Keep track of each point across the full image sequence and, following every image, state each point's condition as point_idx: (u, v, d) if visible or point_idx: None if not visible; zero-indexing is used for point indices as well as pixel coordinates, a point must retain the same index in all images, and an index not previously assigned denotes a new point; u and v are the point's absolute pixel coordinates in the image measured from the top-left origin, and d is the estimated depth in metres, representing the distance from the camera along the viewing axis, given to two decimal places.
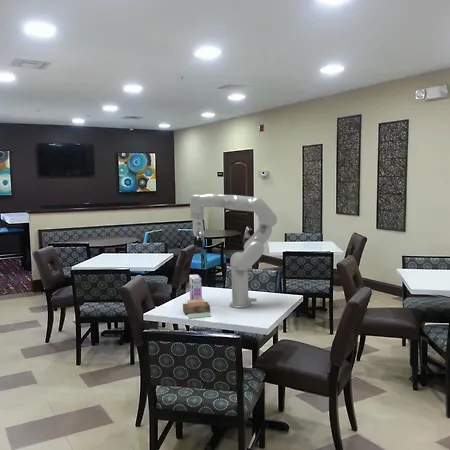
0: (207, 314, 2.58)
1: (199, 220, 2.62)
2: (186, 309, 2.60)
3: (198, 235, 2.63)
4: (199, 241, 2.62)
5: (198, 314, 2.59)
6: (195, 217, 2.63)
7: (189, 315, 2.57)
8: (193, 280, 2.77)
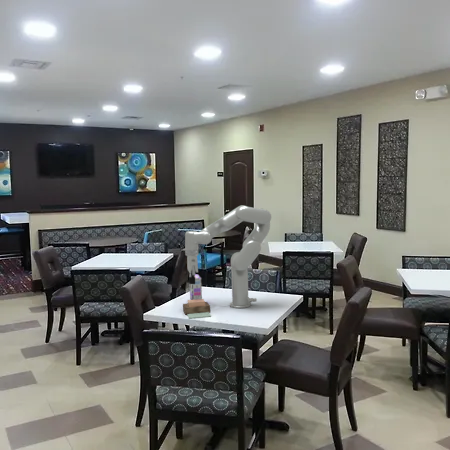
0: (207, 314, 2.58)
1: (193, 257, 2.67)
2: (186, 309, 2.60)
3: (191, 273, 2.70)
4: (192, 278, 2.71)
5: (198, 314, 2.59)
6: (190, 254, 2.67)
7: (189, 315, 2.57)
8: None
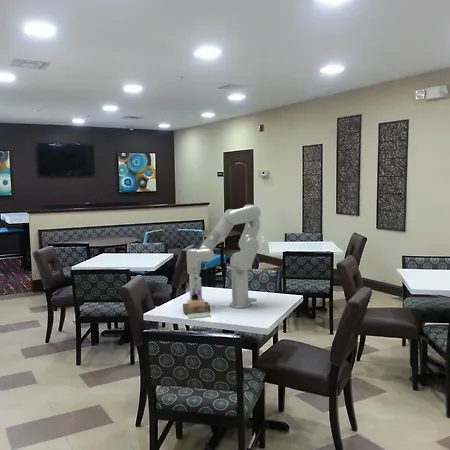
0: (207, 314, 2.58)
1: (195, 275, 2.64)
2: (186, 309, 2.60)
3: None
4: (194, 296, 2.68)
5: (198, 314, 2.59)
6: (191, 272, 2.65)
7: (189, 315, 2.57)
8: None
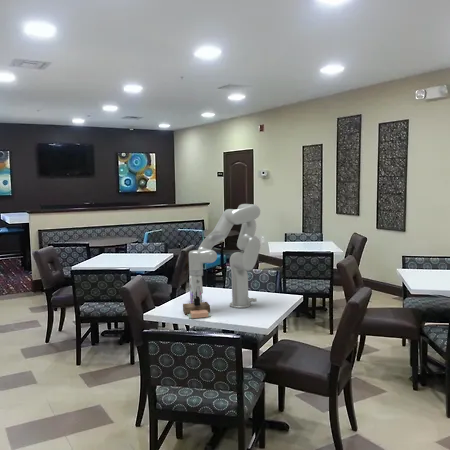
0: None
1: (198, 278, 2.56)
2: (186, 309, 2.60)
3: (196, 294, 2.59)
4: (197, 299, 2.60)
5: None
6: (194, 274, 2.57)
7: (189, 315, 2.57)
8: None
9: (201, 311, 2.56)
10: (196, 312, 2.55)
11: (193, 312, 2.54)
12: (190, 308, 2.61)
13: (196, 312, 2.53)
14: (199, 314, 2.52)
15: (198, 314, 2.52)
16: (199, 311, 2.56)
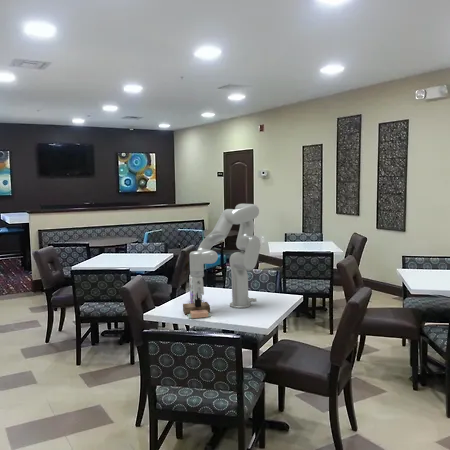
0: None
1: (199, 279, 2.54)
2: (186, 309, 2.60)
3: (197, 295, 2.57)
4: (197, 301, 2.58)
5: None
6: (195, 275, 2.54)
7: (189, 315, 2.57)
8: None
9: (201, 311, 2.56)
10: (196, 312, 2.55)
11: (193, 312, 2.54)
12: (190, 308, 2.61)
13: (196, 312, 2.53)
14: (199, 314, 2.52)
15: (198, 314, 2.52)
16: (199, 311, 2.56)
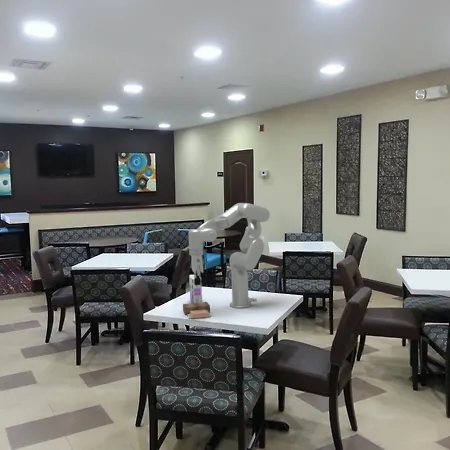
0: None
1: (198, 256, 2.53)
2: (186, 309, 2.60)
3: None
4: (197, 279, 2.57)
5: None
6: (194, 253, 2.53)
7: (189, 315, 2.57)
8: (193, 280, 2.77)
9: (201, 311, 2.56)
10: (196, 312, 2.55)
11: (193, 312, 2.54)
12: (190, 308, 2.61)
13: (196, 312, 2.53)
14: (199, 314, 2.52)
15: (198, 314, 2.52)
16: (199, 311, 2.56)
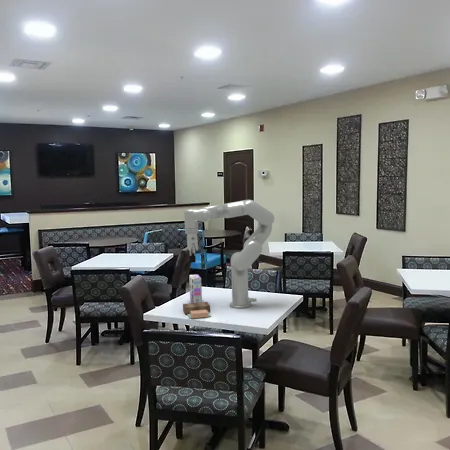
0: None
1: (193, 235, 2.65)
2: (186, 309, 2.60)
3: None
4: (192, 257, 2.69)
5: None
6: (189, 232, 2.66)
7: (189, 315, 2.57)
8: (193, 280, 2.77)
9: (201, 311, 2.56)
10: (196, 312, 2.55)
11: (193, 312, 2.54)
12: (190, 308, 2.61)
13: (196, 312, 2.53)
14: (199, 314, 2.52)
15: (198, 314, 2.52)
16: (199, 311, 2.56)
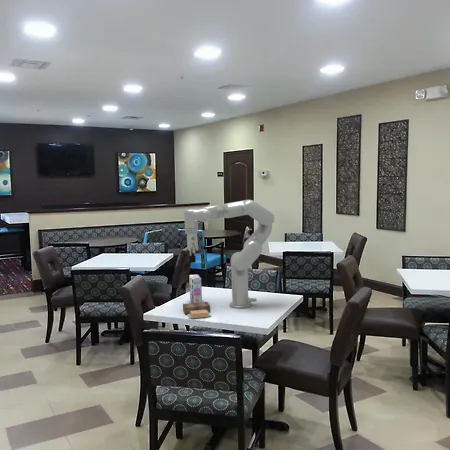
0: None
1: (193, 235, 2.65)
2: (186, 309, 2.60)
3: None
4: (192, 257, 2.69)
5: None
6: (189, 232, 2.66)
7: (189, 315, 2.57)
8: (193, 280, 2.77)
9: (201, 311, 2.56)
10: (196, 312, 2.55)
11: (193, 312, 2.54)
12: (190, 308, 2.61)
13: (196, 312, 2.53)
14: (199, 314, 2.52)
15: (198, 314, 2.52)
16: (199, 311, 2.56)
